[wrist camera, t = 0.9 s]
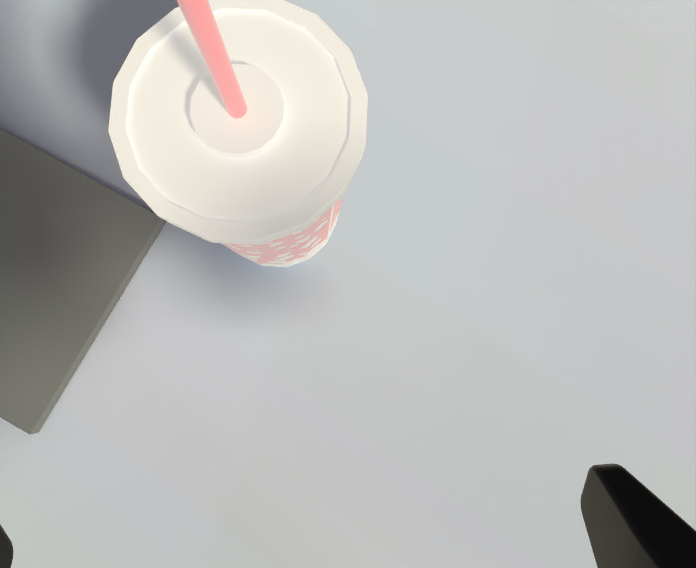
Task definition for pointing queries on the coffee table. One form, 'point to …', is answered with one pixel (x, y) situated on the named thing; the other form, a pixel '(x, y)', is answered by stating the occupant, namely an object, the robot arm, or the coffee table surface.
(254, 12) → the beverage cup
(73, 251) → the coaster
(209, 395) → the coffee table surface
